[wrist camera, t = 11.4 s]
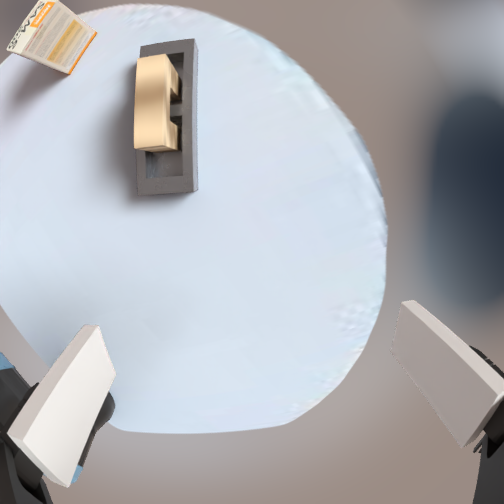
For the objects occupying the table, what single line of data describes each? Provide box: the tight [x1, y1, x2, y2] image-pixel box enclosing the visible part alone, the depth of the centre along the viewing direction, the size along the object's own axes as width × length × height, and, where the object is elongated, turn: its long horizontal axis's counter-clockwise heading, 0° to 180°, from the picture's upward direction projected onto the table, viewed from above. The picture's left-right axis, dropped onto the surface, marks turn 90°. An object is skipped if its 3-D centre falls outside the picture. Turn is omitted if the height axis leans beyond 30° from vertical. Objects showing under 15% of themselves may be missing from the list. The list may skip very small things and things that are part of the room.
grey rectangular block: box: [136, 39, 198, 196], centre depth 30 cm, size 20×7×4 cm, turn 1°
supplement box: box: [6, 0, 97, 75], centre depth 21 cm, size 8×5×13 cm, turn 148°
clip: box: [134, 54, 181, 153], centre depth 27 cm, size 10×3×9 cm, turn 1°
